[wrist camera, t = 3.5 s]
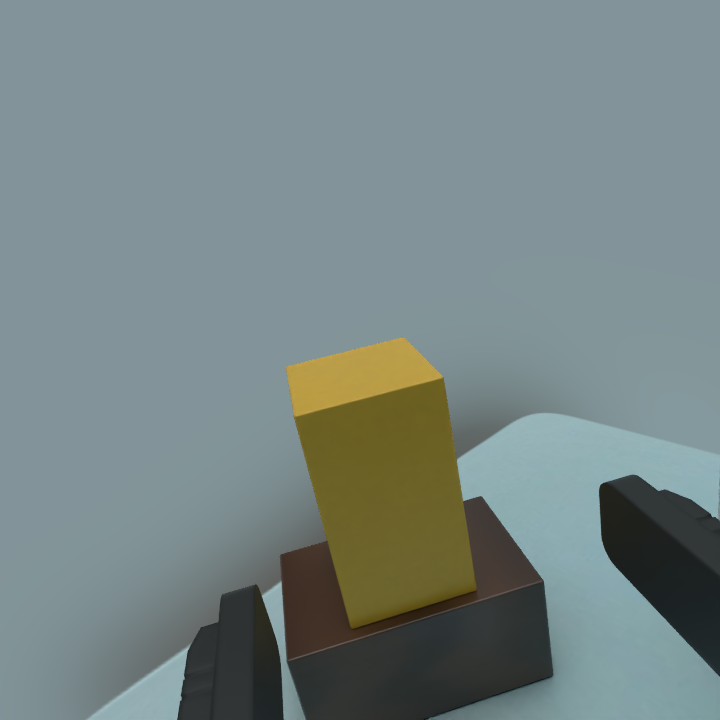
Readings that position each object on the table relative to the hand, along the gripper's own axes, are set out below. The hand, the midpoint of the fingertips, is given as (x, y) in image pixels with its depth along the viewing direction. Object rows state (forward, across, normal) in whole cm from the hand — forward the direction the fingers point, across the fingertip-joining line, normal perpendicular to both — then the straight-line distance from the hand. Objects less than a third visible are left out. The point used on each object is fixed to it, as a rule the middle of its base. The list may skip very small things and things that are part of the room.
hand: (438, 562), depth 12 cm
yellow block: (+8, 0, +7) cm, 11 cm away
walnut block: (+8, 0, +12) cm, 15 cm away
